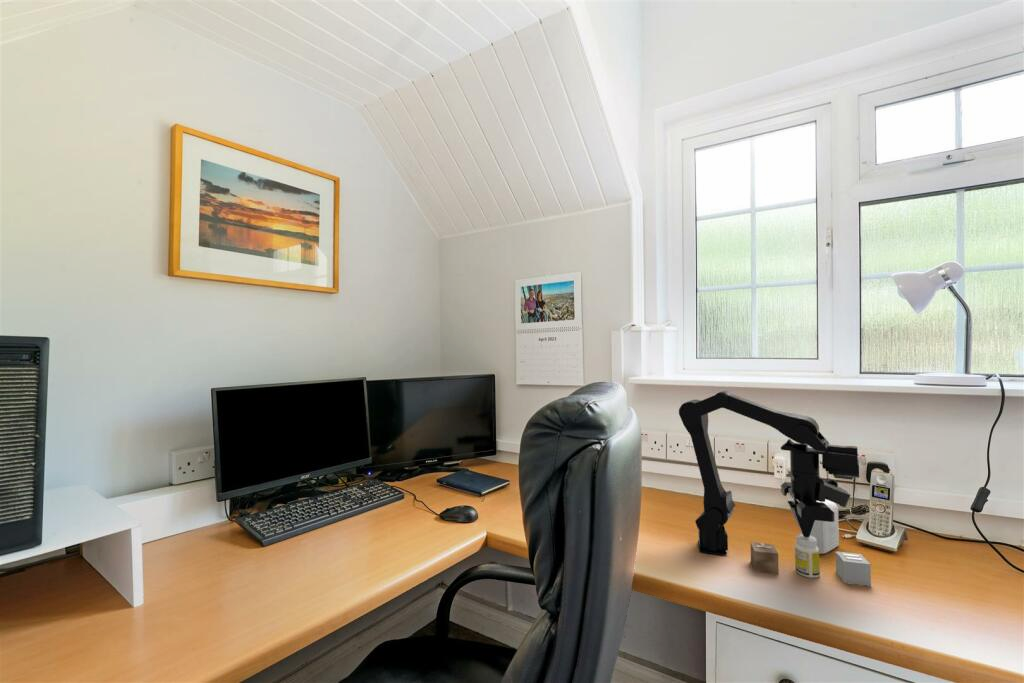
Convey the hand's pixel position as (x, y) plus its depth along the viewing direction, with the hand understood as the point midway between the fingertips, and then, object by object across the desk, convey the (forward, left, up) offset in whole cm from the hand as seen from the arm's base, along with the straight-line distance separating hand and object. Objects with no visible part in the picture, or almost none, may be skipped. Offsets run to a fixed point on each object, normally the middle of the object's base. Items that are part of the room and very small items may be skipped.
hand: (806, 536), depth 105 cm
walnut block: (-9, 0, -9) cm, 12 cm away
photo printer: (+8, +16, -9) cm, 20 cm away
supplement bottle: (0, 0, -9) cm, 9 cm away
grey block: (+9, 0, -9) cm, 13 cm away
